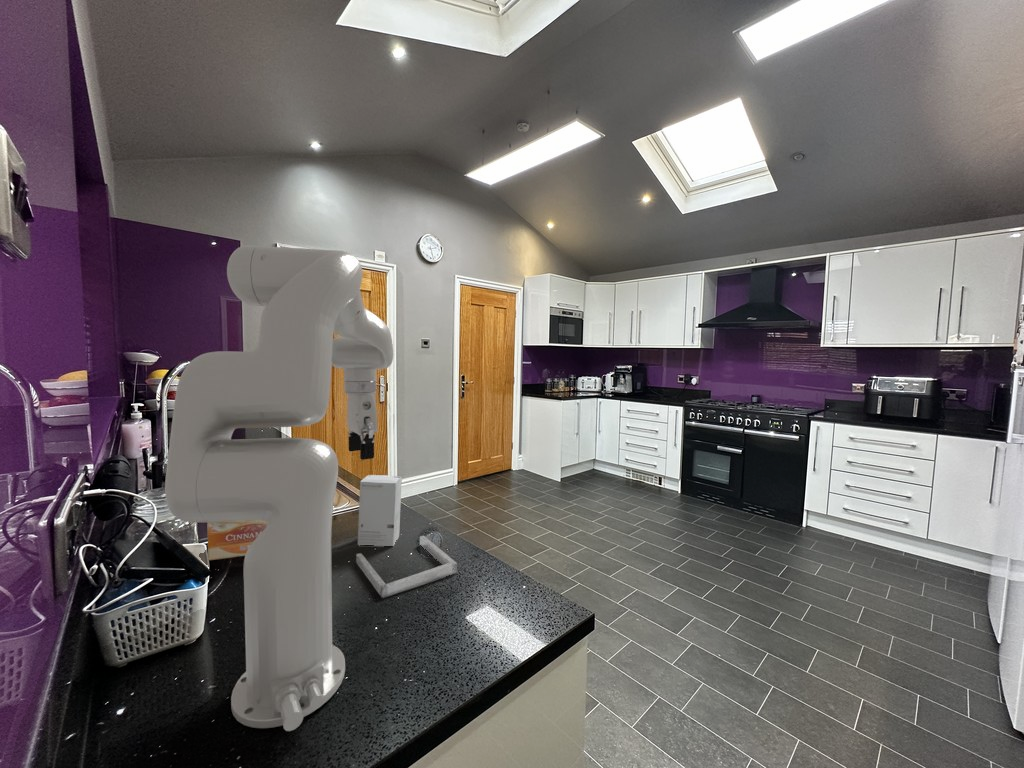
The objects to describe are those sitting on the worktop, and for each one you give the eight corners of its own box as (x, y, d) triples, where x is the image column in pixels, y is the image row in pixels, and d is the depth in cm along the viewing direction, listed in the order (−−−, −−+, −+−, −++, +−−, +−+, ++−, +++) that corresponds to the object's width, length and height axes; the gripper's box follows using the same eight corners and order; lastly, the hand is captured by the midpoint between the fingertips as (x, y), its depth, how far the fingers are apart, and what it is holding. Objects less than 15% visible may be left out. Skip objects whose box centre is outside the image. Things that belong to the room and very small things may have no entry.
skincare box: (357, 547, 89) (356, 481, 88) (366, 535, 95) (365, 473, 94) (395, 547, 89) (395, 482, 88) (401, 535, 95) (402, 474, 94)
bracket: (456, 572, 79) (457, 563, 79) (382, 599, 70) (382, 588, 70) (423, 543, 91) (423, 535, 91) (356, 563, 82) (356, 554, 82)
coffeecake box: (207, 565, 80) (204, 470, 79) (216, 549, 87) (213, 461, 85) (292, 552, 86) (290, 463, 85) (295, 538, 93) (293, 455, 91)
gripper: (387, 390, 96) (387, 460, 98) (364, 384, 110) (364, 446, 111) (355, 391, 92) (356, 464, 93) (335, 385, 105) (336, 449, 107)
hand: (360, 454), depth 102 cm, fingers open, 9 cm apart
